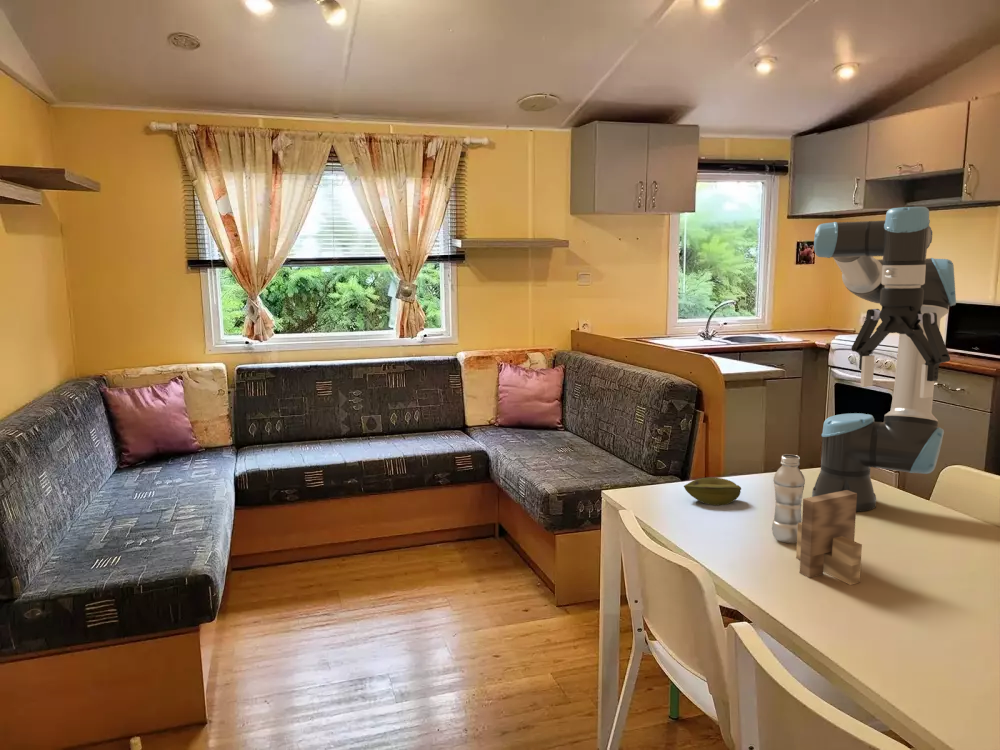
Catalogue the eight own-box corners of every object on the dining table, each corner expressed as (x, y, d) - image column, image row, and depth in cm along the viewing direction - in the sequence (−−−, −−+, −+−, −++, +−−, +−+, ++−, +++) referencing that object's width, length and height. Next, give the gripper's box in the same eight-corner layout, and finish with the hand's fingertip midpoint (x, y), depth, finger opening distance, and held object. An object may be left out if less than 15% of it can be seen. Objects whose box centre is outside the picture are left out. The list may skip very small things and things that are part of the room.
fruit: (723, 512, 181) (723, 487, 180) (682, 501, 189) (682, 478, 188) (744, 501, 188) (745, 477, 187) (704, 491, 197) (704, 468, 196)
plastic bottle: (805, 547, 158) (809, 461, 155) (773, 545, 159) (777, 460, 156) (799, 536, 164) (803, 452, 161) (768, 534, 166) (772, 452, 162)
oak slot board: (804, 556, 154) (806, 521, 152) (859, 582, 141) (861, 544, 139) (796, 558, 153) (797, 522, 151) (850, 585, 140) (852, 546, 139)
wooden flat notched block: (842, 562, 150) (846, 489, 148) (852, 566, 148) (857, 493, 145) (799, 572, 146) (803, 498, 143) (809, 577, 143) (812, 502, 141)
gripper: (836, 285, 151) (831, 383, 154) (949, 289, 128) (940, 404, 131) (862, 284, 153) (856, 380, 157) (977, 287, 131) (967, 400, 134)
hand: (895, 391), depth 144 cm, fingers open, 13 cm apart
